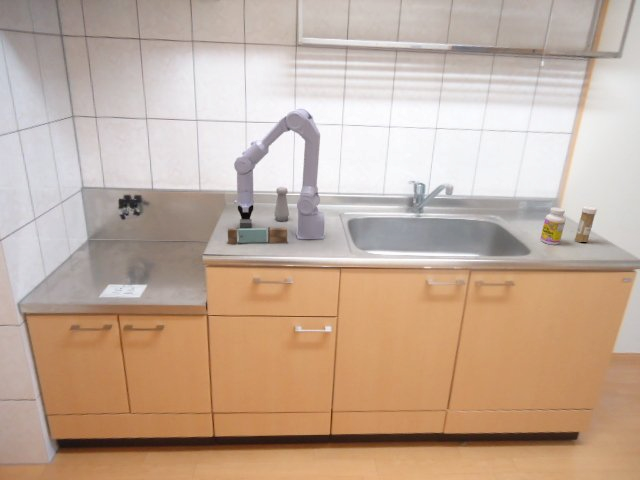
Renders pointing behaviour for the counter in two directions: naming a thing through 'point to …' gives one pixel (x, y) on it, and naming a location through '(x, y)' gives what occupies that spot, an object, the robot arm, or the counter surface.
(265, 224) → the counter surface
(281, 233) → the wall
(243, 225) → the block
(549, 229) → the supplement bottle
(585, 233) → the sprinkles bottle
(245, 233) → the door
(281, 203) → the salt shaker
